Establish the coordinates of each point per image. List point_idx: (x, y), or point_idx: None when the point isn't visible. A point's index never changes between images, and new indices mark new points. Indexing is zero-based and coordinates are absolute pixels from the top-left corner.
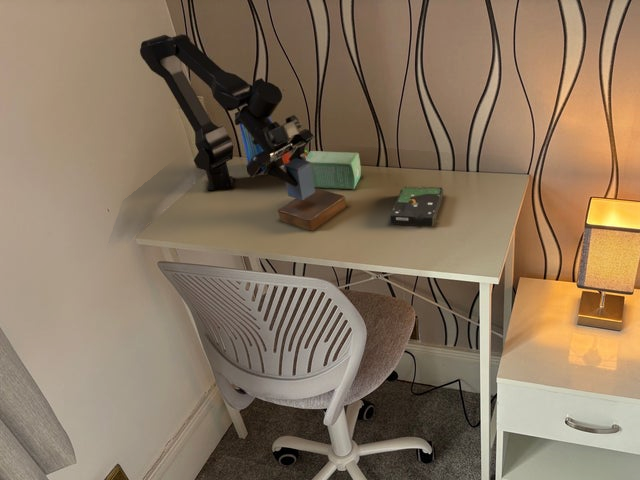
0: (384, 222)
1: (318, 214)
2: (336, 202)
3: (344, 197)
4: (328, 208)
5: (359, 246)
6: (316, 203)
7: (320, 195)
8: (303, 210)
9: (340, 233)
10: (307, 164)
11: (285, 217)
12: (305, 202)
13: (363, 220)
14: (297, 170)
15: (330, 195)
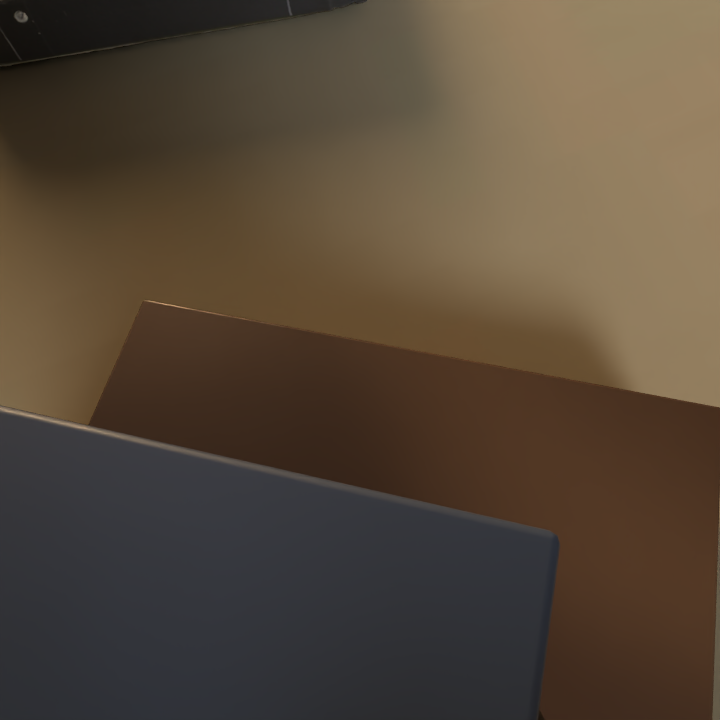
0: (348, 49)
1: (571, 380)
2: (278, 325)
3: (160, 304)
4: (407, 351)
5: (688, 61)
6: None
7: None
8: (558, 591)
9: (592, 227)
10: (53, 421)
11: None
12: None
13: (358, 163)
14: (557, 541)
15: None
